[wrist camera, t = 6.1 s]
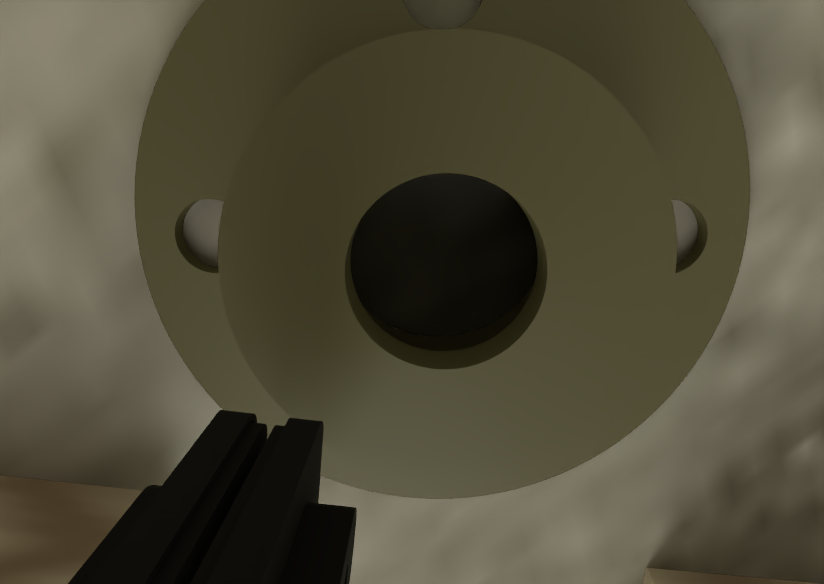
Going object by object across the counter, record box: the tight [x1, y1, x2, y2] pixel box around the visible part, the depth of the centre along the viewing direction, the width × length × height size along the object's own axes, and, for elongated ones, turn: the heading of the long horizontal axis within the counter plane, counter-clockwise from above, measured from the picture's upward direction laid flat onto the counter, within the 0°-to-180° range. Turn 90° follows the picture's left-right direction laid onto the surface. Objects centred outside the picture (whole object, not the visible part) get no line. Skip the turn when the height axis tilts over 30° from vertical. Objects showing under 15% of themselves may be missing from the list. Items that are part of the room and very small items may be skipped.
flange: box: [135, 0, 750, 499], centre depth 13 cm, size 5×15×15 cm
